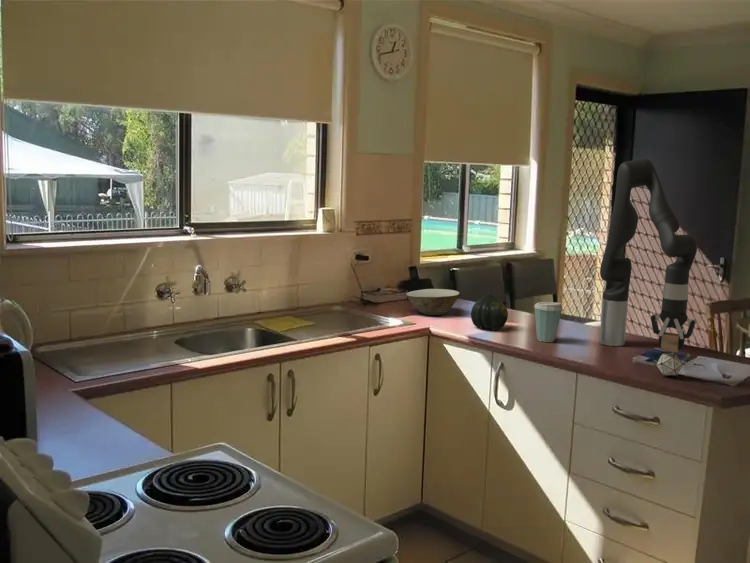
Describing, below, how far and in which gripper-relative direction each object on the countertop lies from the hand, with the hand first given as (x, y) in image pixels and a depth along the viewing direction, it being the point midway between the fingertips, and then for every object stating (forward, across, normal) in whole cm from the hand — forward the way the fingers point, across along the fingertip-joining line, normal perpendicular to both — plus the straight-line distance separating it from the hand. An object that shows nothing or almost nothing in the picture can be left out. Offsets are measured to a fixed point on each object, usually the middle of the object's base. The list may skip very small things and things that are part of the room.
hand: (670, 348), depth 240 cm
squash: (+10, +77, -26) cm, 82 cm away
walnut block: (0, 0, 0) cm, 0 cm away
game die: (+10, 0, 0) cm, 10 cm away
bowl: (+10, +110, -37) cm, 116 cm away
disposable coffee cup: (+10, +50, -21) cm, 55 cm away
